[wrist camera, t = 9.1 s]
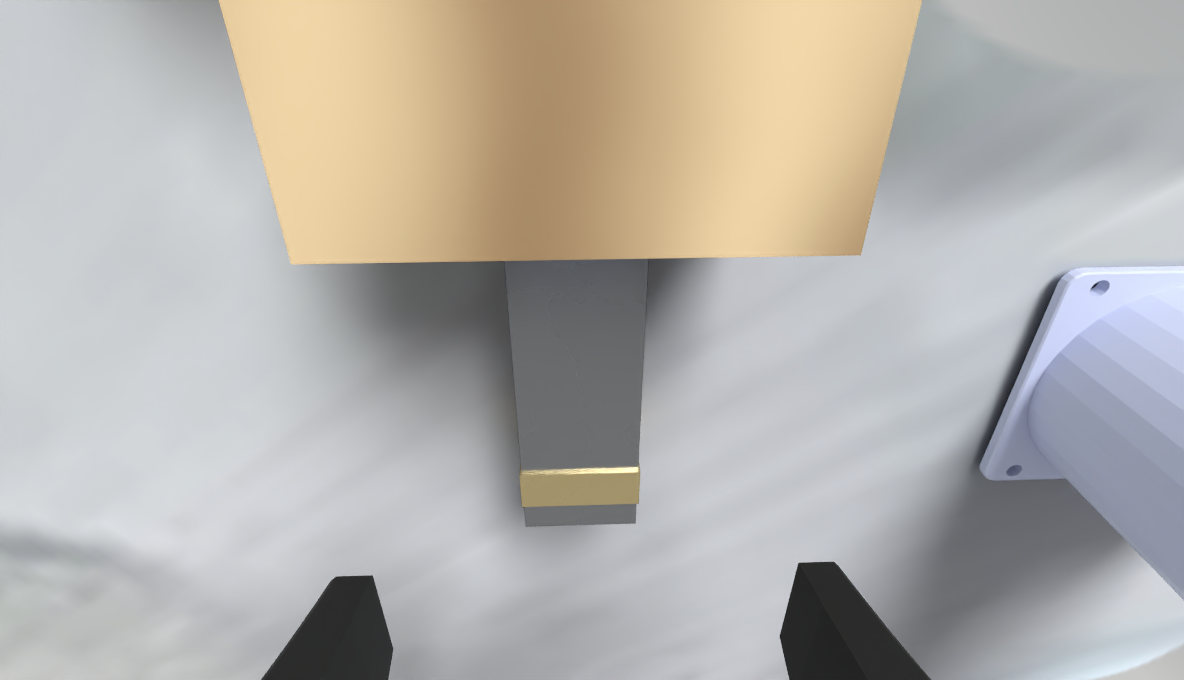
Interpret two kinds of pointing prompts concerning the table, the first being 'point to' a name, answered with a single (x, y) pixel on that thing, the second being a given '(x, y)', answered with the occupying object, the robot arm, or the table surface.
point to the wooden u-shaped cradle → (571, 125)
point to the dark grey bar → (578, 386)
